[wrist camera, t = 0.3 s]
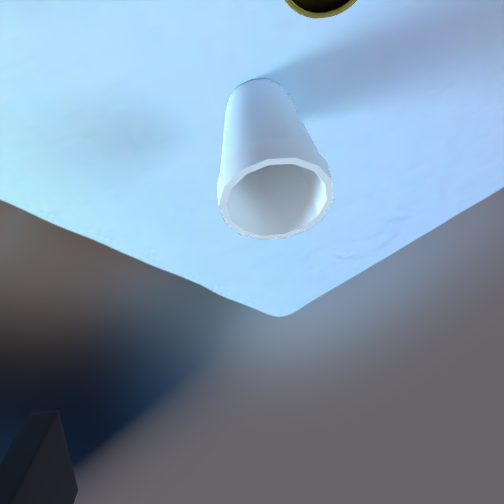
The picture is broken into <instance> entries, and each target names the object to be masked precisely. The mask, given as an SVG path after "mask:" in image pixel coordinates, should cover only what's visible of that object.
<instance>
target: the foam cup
mask: <svg viewBox="0 0 504 504" xmlns="http://www.w3.org/2000/svg"><path fill="white" fill-rule="evenodd" d="M217 192H218V203H219V208H220V211H221V213H222V216H223V219H224V222H225V223H226V224H227V225H229V226H230V227H231V228H233V229H234V230H235V231H236V232H238V233H239V234H241V235H245V236H249V237H252V238H256V239H260V240H265V239H282V238H287V237H290V236H292V235H295V234H298V233H301V232H304V231H306V230H308V229H309V228H310V227H312V226H313V225H314V224H316V223H317V222H318V221H320V220H321V219H322V218H323V217H325V215H326V213H327V211H328V209H329V207H330V206H331V204H332V202H333V200H334V195H333V181H332V178H331V175H330V172H329V168H328V165H327V162H326V161H325V159H324V158H323V157H322V156H321V155H320V153H319V152H318V150H317V148H316V146H315V144H314V142H313V140H312V139H311V137H310V135H309V133H308V131H307V129H306V127H305V125H304V123H303V122H302V120H301V118H300V116H299V114H298V112H297V110H296V108H295V106H294V104H293V103H292V101H291V99H290V97H289V96H288V94H287V93H286V91H285V90H284V89H283V88H282V86H281V85H280V84H277V83H275V82H273V81H270V80H268V79H259V80H251V81H248V82H246V83H244V84H242V85H240V86H238V87H237V88H236V90H235V91H234V92H233V93H232V94H231V95H230V96H229V100H228V104H227V108H226V114H225V125H224V137H223V148H222V160H221V171H220V176H219V180H218V183H217Z"/></svg>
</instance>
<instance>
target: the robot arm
mask: <svg viewBox="0 0 504 504" xmlns="http://www.w3.org/2000/svg"><path fill="white" fill-rule="evenodd" d="M77 492H78V488H77V484H76V480H75V475H74V471H73V467H72V463H71V459H70V456H69V452H68V448H67V443H66V439H65V435H64V431H63V427H62V423H61V419H60V415H59V411H58V410H53V411H44V412H35V413H29V415H28V417H27V419H26V420H25V422H24V424H23V425H22V427H21V428H20V430H19V432H18V434H17V435H16V437H15V439H14V440H13V442H12V444H11V446H10V447H9V449H8V450H7V452H6V454H5V456H4V457H3V459H2V460H1V462H0V504H73V503H74V500H75V497H76V494H77Z"/></svg>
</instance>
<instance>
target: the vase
mask: <svg viewBox="0 0 504 504" xmlns="http://www.w3.org/2000/svg"><path fill="white" fill-rule="evenodd" d="M285 1H286V3H287V4H288V5H289V6H290V7H291V8H292V9H293V10H294V11H295V12H297V13H299V14H301V15H303V16H306V17H310V18H325V17H331V16H335V15H337V14H339V13H341V12H343V11H345V10H347V9H348V8H349V7H351V6H352V5H353V4H354V3H355V2H356V1H357V0H285Z"/></svg>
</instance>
